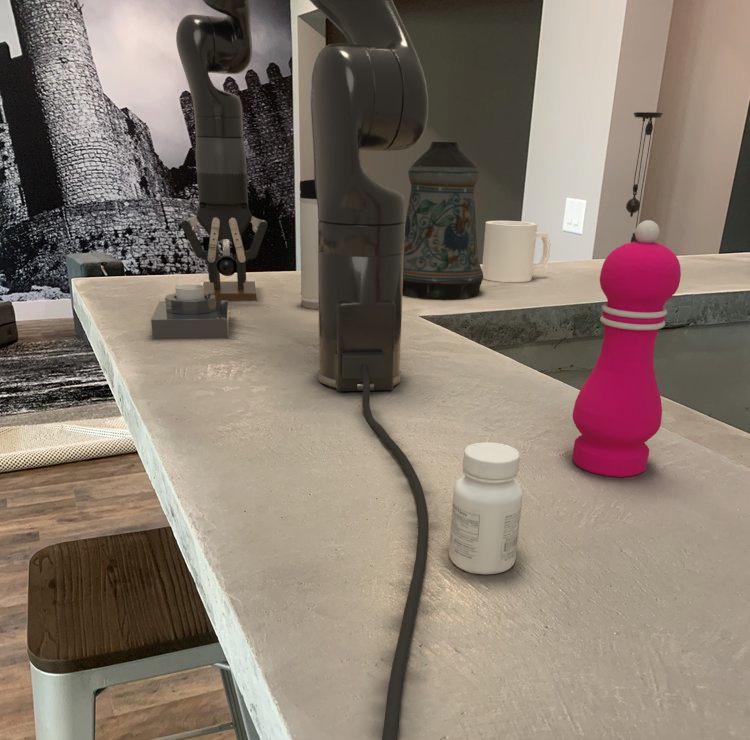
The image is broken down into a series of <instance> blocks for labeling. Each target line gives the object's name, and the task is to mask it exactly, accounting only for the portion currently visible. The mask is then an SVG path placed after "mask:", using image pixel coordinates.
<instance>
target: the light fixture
mask: <svg viewBox="0 0 750 740" xmlns="http://www.w3.org/2000/svg"><path fill="white" fill-rule="evenodd" d="M663 114H664V113H663V112H655V111H654V112H651V111H650V112H649V111H648V112H645V111H642V112H641V111H638V112H633V115H634V118H638V119H639V118H640V119H642V124H641V125H642V127H641V132H640V133H641V134H640V142H639V149H638V154H637V161H636V167H635V170H634V171H635V172H634V177H633V186H632V195H633V197H632V198H630V199H629V200H628V201H627V203H626V205H625V209H626V211H627V212H628V213H629V216H630V218H632V217H633V216H634V214H635V213H637V217H636V224H635V229H636V228H637V226H638V223H639V214H640V208H641V202H642V195H643V190H644V189H643V188H644V182H645V176H646V172H647V171H646V170H647V165H648V164H647V162H648V158H649V153H650V146H651V139H652V134H653V130H654V125H653V119H661V117H662V116H663ZM646 120H647V124H646V126H645V127H644V125H645V122H646ZM644 128H645V129H644ZM643 131H644V139H643ZM646 136H649V141H648V146H647V147H648V148H647V154H646V158H645V159H646V160H645V166H644V171H643V178H642V183H641V189H640V190H641V191H640V196H639V199H637V198H636V196H637V194H638V190H639V182H640V178H641V177H640V176H641V169H642V162H643V154H644V149H645V142H646ZM642 139H643V144H642ZM641 146H642V149H641ZM641 150H642V151H641ZM640 152H641V157H640ZM639 158H640V163H639ZM638 164H639V165H638ZM638 166H639V170H638ZM637 170H638V179H637V183H636V176H637ZM630 242H637V240H636V237H635V232H633V233H632V235H631V238H630Z"/></svg>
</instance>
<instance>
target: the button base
mask: <svg viewBox="0 0 750 740" xmlns="http://www.w3.org/2000/svg"><path fill="white" fill-rule="evenodd" d="M229 314H230V313H229V301H228V300H225V301H216V295H213V294H210V293H205V298H203V299H196V300H182V299H176V292H175V293H171V294H167V295H165V297H164V300H159V301H158V304H157V306H156V308H155V310H154V312H153V315H152V317H151V319H150V323H151V333H152V335H151V336H152V340H190V339H191V340H198V339H199V340H201V339H202V340H203V339H204V340H207V339H229V327H230V319H229V318H230V315H229Z"/></svg>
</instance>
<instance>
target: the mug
mask: <svg viewBox="0 0 750 740" xmlns="http://www.w3.org/2000/svg"><path fill="white" fill-rule="evenodd" d="M537 238H541V240H542V241H541V242H542V244H543V245H542V256H541V258H540V261H539V263H534V258H535V251H536V250H535V249H536V242H537V241H536V240H537ZM551 245H552V244H551V241H550V239H549V234H548V233H547V232H543V231H540V232H539V231H538V223H536V222H531V221H521V220H487V221H485V226H484V239H483V252H482V264H481V269H482V272H483V279H484V280H486V281H491V282H500V283H526V282H530V281H532V279H533V270H545V269H546V267H547V265H548V262H549V260H550V257H551ZM483 279H482V280H483Z"/></svg>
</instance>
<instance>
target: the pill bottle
mask: <svg viewBox="0 0 750 740" xmlns="http://www.w3.org/2000/svg"><path fill="white" fill-rule="evenodd" d="M520 458H521V456H520V452H519V450H517V449H516V448H515V447H513V446H511V445H508V444H505V443H499V442H492V441H491V442H490V441H488V442H487V441H484V442H475V443H472V444H468V445H467V446H466V447H465V448H464V451H463V459H462V469H461V470H462V473H463V475H462V476H460V477H459V478H458V479H457V480H456V481H455V483H454V485H453V492H452V503H451V505H452V506H451V521H450V532H449V547H448V555H449V559H450V561H451V562H452V563H453V564H454V565H455V567H457V568H458V569H461V570H462V571H465V572H466V573H470V574H476V575H496V574H501V573H504V572H507V571H508V570H510V569H512V567H513V566H514V565H515V562H516V559H517V549H518V539H519V531H520V523H521V515H522V514H521V513H522V504H523V495H524V494H523V489H522V486H521V485H520V484H519V482H518V481H516V480H515V479H516V478H517V477H518V473H519V471H520Z"/></svg>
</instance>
